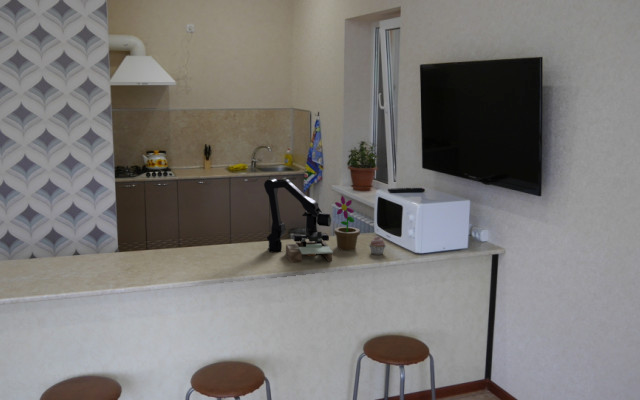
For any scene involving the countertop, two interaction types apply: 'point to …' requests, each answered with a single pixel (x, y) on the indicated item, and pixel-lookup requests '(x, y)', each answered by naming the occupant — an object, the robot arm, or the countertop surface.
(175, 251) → the countertop surface
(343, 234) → the flowerpot
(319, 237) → the robot arm
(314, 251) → the sliding cover
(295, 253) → the puzzle board
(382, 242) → the cupcake
